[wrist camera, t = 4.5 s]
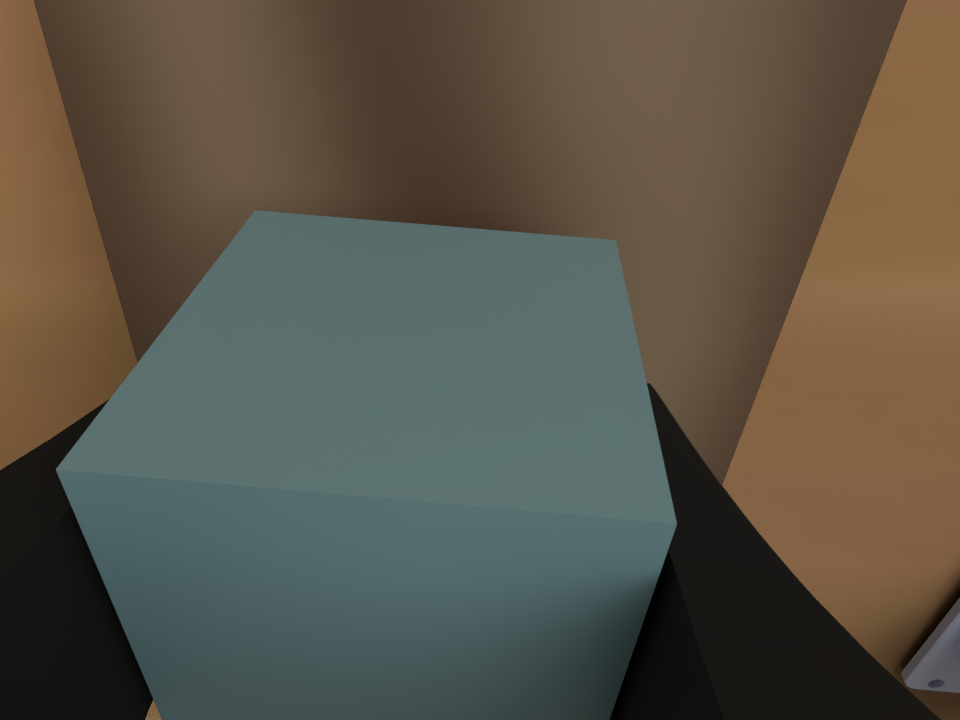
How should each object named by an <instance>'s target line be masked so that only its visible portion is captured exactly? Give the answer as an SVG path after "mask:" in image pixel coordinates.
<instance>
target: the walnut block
mask: <svg viewBox="0 0 960 720" xmlns="http://www.w3.org/2000/svg"><path fill="white" fill-rule="evenodd" d="M906 1H907V0H34V3H35V7H36V10H37V14H38V17H39V20H40V24H41V27H42V31H43V34H44V38H45V41H46V45H47V48H48V52H49V55H50V59H51V62H52V66H53V69H54V73H55V76H56V80H57V83H58V87H59V90H60V94H61V97H62V100H63V104H64V107H65V111H66V114H67V118H68V121H69V125H70V128H71V132H72V135H73V139H74V142H75V146H76V149H77V153H78V156H79V160H80V163H81V167H82V170H83V174H84V177H85V180H86V184H87V187H88V191H89V194H90V198H91V201H92V205H93V208H94V212H95V215H96V219H97V222H98V226H99V229H100V233H101V236H102V240H103V243H104V247H105V250H106V254H107V257H108V260H109V264H110V267H111V271H112V274H113V278H114V281H115V285H116V288H117V292H118V295H119V299H120V302H121V306H122V309H123V313H124V316H125V320H126V323H127V327H128V330H129V334H130V337H131V340H132V344H133V347H134V351H135V354H136V358H137V361H138V362H139V361H140V359H141V358H142V357H143V355H144V354H145V353H146V352H147V350H148V349H149V348H150V346H151V345H152V344H153V342H154V341H155V340H156V339H157V337H158V336H159V335H160V333H161V332H162V331H163V329H164V328H165V327H166V326H167V324H168V323H169V322H170V320H171V319H172V318H173V316H174V315H175V314H176V313H177V311H178V310H179V309H180V307H181V306H182V305H183V303H184V302H185V301H186V300H187V298H188V297H189V296H190V294H191V293H192V292H193V290H194V289H195V288H196V287H197V285H198V284H199V283H200V281H201V280H202V279H203V277H204V276H205V275H206V274H207V272H208V271H209V270H210V268H211V267H212V266H213V264H214V263H215V262H216V261H217V259H218V258H219V257H220V255H221V254H222V253H223V251H224V250H225V249H226V248H227V246H228V245H229V244H230V242H231V241H232V240H233V238H234V237H235V236H236V235H237V233H238V232H239V231H240V229H241V228H242V227H243V226H244V224H245V223H246V222H247V220H248V219H249V218H250V216H251V215H252V214H253V213H254V211H255V210H256V211H268V212H280V213H292V214H304V215H316V216H329V217H341V218H353V219H365V220H377V221H389V222H401V223H414V224H426V225H438V226H450V227H462V228H474V229H486V230H499V231H511V232H523V233H535V234H547V235H559V236H571V237H584V238H596V239H608V240H616V243H617V247H618V252H619V257H620V261H621V266H622V271H623V275H624V280H625V285H626V289H627V294H628V298H629V303H630V308H631V312H632V317H633V322H634V326H635V331H636V336H637V340H638V345H639V350H640V354H641V359H642V363H643V368H644V373H645V377H646V382H647V383H650V384H651V385H652V386H653V388H654V389H655V390H656V391H657V393H658V394H659V396H660V397H661V399H662V400H663V402H664V403H665V405H666V406H667V408H668V409H669V411H670V412H671V414H672V415H673V417H674V418H675V420H676V421H677V423H678V424H679V426H680V427H681V429H682V430H683V432H684V433H685V435H686V436H687V437H688V439H689V440H690V442H691V443H692V445H693V446H694V448H695V449H696V450H697V452H698V453H699V455H700V456H701V458H702V459H703V460H704V462H705V463H706V465H707V466H708V467H709V469H710V470H711V471H712V473H713V474H714V476H715V477H716V478H717V480H718V481H719V482H720V483H721V485H722V484H723V481H724V479H725V476H726V473H727V471H728V468H729V465H730V463H731V460H732V458H733V455H734V452H735V450H736V447H737V444H738V442H739V439H740V437H741V434H742V431H743V429H744V426H745V424H746V421H747V418H748V416H749V413H750V410H751V408H752V405H753V403H754V400H755V397H756V395H757V392H758V389H759V387H760V384H761V382H762V379H763V376H764V374H765V371H766V368H767V366H768V363H769V361H770V358H771V355H772V353H773V350H774V347H775V345H776V342H777V340H778V337H779V334H780V332H781V329H782V326H783V324H784V321H785V319H786V316H787V313H788V311H789V308H790V305H791V303H792V300H793V298H794V295H795V292H796V290H797V287H798V284H799V282H800V279H801V277H802V274H803V271H804V269H805V266H806V263H807V261H808V258H809V256H810V253H811V250H812V248H813V245H814V242H815V240H816V237H817V235H818V232H819V229H820V227H821V224H822V221H823V219H824V216H825V214H826V211H827V208H828V206H829V203H830V200H831V198H832V195H833V193H834V190H835V187H836V185H837V182H838V179H839V177H840V174H841V172H842V169H843V166H844V164H845V161H846V158H847V156H848V153H849V151H850V148H851V145H852V143H853V140H854V137H855V135H856V132H857V130H858V127H859V124H860V122H861V119H862V116H863V114H864V111H865V109H866V106H867V103H868V101H869V98H870V95H871V93H872V90H873V88H874V85H875V82H876V80H877V77H878V74H879V72H880V69H881V67H882V64H883V61H884V59H885V56H886V53H887V51H888V48H889V46H890V43H891V40H892V38H893V35H894V32H895V30H896V27H897V25H898V22H899V19H900V17H901V14H902V11H903V9H904V6H905V4H906Z"/></svg>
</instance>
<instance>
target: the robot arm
mask: <svg viewBox="0 0 960 720" xmlns="http://www.w3.org/2000/svg"><path fill="white" fill-rule="evenodd" d="M647 387H648V391H649V396H650V401H651V405H652V410H653V414H654V419H655V424H656V428H657V433H658V438H659V442H660V447H661V452H662V456H663V461H664V466H665V470H666V475H667V479H668V484H669V489H670V493H671V498H672V503H673V507H674V512H675V517H676V521H677V525H676V528H675V531H674V534H673V537H672V540H671V543H670V546H669V549H668V552H667V554H666V557H665V560H664V563H663V566H662V569H661V572H660V575H659V578H658V581H657V583H656V586H655V589H654V592H653V595H652V598H651V601H650V604H649V607H648V610H647V612H646V615H645V618H644V621H643V624H642V627H641V630H640V633H639V636H638V639H637V641H636V644H635V647H634V650H633V653H632V656H631V659H630V662H629V665H628V668H627V670H626V673H625V676H624V679H623V682H622V685H621V688H620V691H619V694H618V697H617V699H616V702H615V705H614V708H613V711H612V714H611V717H610V720H940V719H939V718H938V717H937V716H936V715H935V714H934V713H933V712H931V711H930V710H929V709H928V708H927V707H926V706H925V705H924V704H923V703H922V702H920V701H919V700H918V699H917V698H916V697H915V696H914V695H913V694H912V693H911V692H909V691H908V690H907V689H906V688H905V687H904V686H903V685H902V684H901V683H899V682H898V681H897V680H896V679H895V678H894V677H893V676H892V675H891V674H890V673H889V672H888V671H887V670H886V669H885V668H884V667H883V666H882V665H881V664H880V663H879V662H878V661H876V660H875V659H874V658H873V657H872V656H871V655H870V654H869V653H868V652H867V651H866V650H865V649H864V648H863V647H862V646H861V645H860V644H859V643H858V642H857V641H856V640H855V639H854V638H853V637H852V636H851V635H850V634H849V633H848V631H847V630H846V629H845V628H844V627H843V626H842V625H841V624H840V623H839V622H838V621H837V620H836V619H835V618H834V617H833V616H832V615H831V614H830V613H829V612H828V611H827V610H826V609H825V608H824V607H823V606H822V605H821V604H820V603H819V602H818V601H817V600H816V599H815V598H814V596H813V595H812V594H811V593H810V592H809V591H808V590H807V589H806V588H805V586H804V585H803V584H802V583H801V582H800V581H799V580H798V579H797V577H796V576H795V575H794V574H793V573H792V572H791V571H790V570H789V568H788V567H787V566H786V565H785V564H784V562H783V561H782V560H781V559H780V558H779V556H778V555H777V554H776V553H775V552H774V551H773V549H772V548H771V547H770V546H769V545H768V543H767V542H766V541H765V540H764V539H763V538H762V536H761V535H760V534H759V533H758V531H757V530H756V529H755V528H754V526H753V525H752V524H751V523H750V521H749V520H748V519H747V518H746V516H745V515H744V514H743V513H742V511H741V510H740V509H739V507H738V506H737V505H736V503H735V502H734V501H733V499H732V498H731V497H730V495H729V494H728V493H727V491H726V490H725V489H724V487H723V486H722V485H721V483H720V482H719V481H718V480H717V478H716V477H715V476H714V474H713V473H712V471H711V470H710V469H709V467H708V466H707V465H706V463H705V462H704V460H703V459H702V458H701V456H700V455H699V453H698V452H697V450H696V449H695V448H694V446H693V445H692V443H691V442H690V440H689V439H688V437H687V436H686V435H685V433H684V432H683V430H682V429H681V427H680V426H679V424H678V423H677V421H676V420H675V418H674V417H673V415H672V414H671V412H670V411H669V409H668V408H667V406H666V405H665V403H664V402H663V400H662V399H661V397H660V396H659V394H658V393H657V391H656V390H655V389H654V388H653V386H652V385H651V384H650V383H647ZM109 400H110V399H109ZM109 400H108V401H109ZM108 401H106V402H105V403H103V404H102V405H100V406H99V407H97V408H96V409H94V410H93V411H91V412H90V413H88V414H87V415H85V416H84V417H83V418H81V419H80V420H78V421H77V422H75V423H74V424H72V425H71V426H69V427H68V428H66V429H65V430H63V431H62V432H60V433H59V434H57V435H56V436H54V437H53V438H51V439H50V440H48V441H47V442H45V443H43V444H42V445H40V446H38V447H37V448H35V449H34V450H32V451H30V452H29V453H27V454H26V455H24V456H22V457H21V458H19V459H18V460H16V461H14V462H13V463H11V464H10V465H8V466H6V467H5V468H3V469H2V470H0V720H145V718H146V716H147V713H148V710H149V708H150V705H151V703H152V701H153V697H152V695H151V692H150V690H149V688H148V685H147V683H146V681H145V678H144V676H143V674H142V671H141V669H140V667H139V664H138V662H137V659H136V657H135V655H134V652H133V650H132V648H131V645H130V643H129V641H128V638H127V636H126V634H125V631H124V629H123V627H122V624H121V622H120V620H119V617H118V615H117V612H116V610H115V608H114V605H113V603H112V601H111V598H110V596H109V594H108V591H107V589H106V587H105V584H104V582H103V580H102V577H101V575H100V573H99V570H98V568H97V565H96V563H95V561H94V558H93V556H92V554H91V551H90V549H89V547H88V544H87V542H86V540H85V537H84V535H83V533H82V530H81V528H80V526H79V523H78V521H77V518H76V516H75V514H74V511H73V509H72V507H71V504H70V502H69V500H68V497H67V495H66V493H65V490H64V488H63V486H62V483H61V481H60V478H59V476H58V474H57V471H56V468H57V467H58V466H59V465H60V463H61V462H62V461H63V459H64V458H65V457H66V455H67V454H68V453H69V452H70V450H71V449H72V448H73V446H74V445H75V444H76V442H77V441H78V440H79V439H80V437H81V436H82V435H83V433H84V432H85V431H86V429H87V428H88V427H89V426H90V424H91V423H92V422H93V420H94V419H95V418H96V416H97V415H98V414H99V413H100V411H101V410H102V409H103V407H104V406H105V405H106V403H107V402H108ZM901 675H902V677H903V680H904V682H905V684H906V686H908V687H910V688H913V689H919V690H930V691H942V692H953V693H960V598H959V599H958V600H957V602H956V603H955V604H954V605H953V607H952V608H951V609H950V611H949V612H948V613H947V614H946V616H945V617H944V618H943V620H942V621H941V622H940V623H939V625H938V626H937V627H936V629H935V630H934V631H933V632H932V634H931V635H930V636H929V638H928V639H927V640H926V641H925V643H924V644H923V645H922V647H921V648H920V649H919V650H918V652H917V653H916V654H915V656H914V657H913V658H912V659H911V661H910V662H909V663H908V664H907V666H906V667H905V668H904V670H903V671H902V673H901Z"/></svg>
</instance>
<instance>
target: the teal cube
mask: <svg viewBox="0 0 960 720" xmlns="http://www.w3.org/2000/svg"><path fill="white" fill-rule="evenodd" d="M56 471H57V474H58V476H59V478H60V481H61V483H62V486H63V488H64V490H65V493H66V495H67V497H68V500H69V502H70V504H71V507H72V509H73V511H74V514H75V516H76V518H77V521H78V523H79V526H80V528H81V530H82V533H83V535H84V537H85V540H86V542H87V544H88V547H89V549H90V551H91V554H92V556H93V558H94V561H95V563H96V565H97V568H98V570H99V573H100V575H101V577H102V580H103V582H104V584H105V587H106V589H107V591H108V594H109V596H110V598H111V601H112V603H113V605H114V608H115V610H116V612H117V615H118V617H119V620H120V622H121V624H122V627H123V629H124V631H125V634H126V636H127V638H128V641H129V643H130V645H131V648H132V650H133V652H134V655H135V657H136V659H137V662H138V664H139V667H140V669H141V671H142V674H143V676H144V678H145V681H146V683H147V685H148V688H149V690H150V692H151V695H152V697H153V699H154V702H155V704H156V706H157V709H158V711H159V714H160V716H161V718H162V720H610V717H611V714H612V711H613V708H614V705H615V702H616V699H617V697H618V694H619V691H620V688H621V685H622V682H623V679H624V676H625V673H626V670H627V668H628V665H629V662H630V659H631V656H632V653H633V650H634V647H635V644H636V641H637V639H638V636H639V633H640V630H641V627H642V624H643V621H644V618H645V615H646V612H647V610H648V607H649V604H650V601H651V598H652V595H653V592H654V589H655V586H656V583H657V581H658V578H659V575H660V572H661V569H662V566H663V563H664V560H665V557H666V554H667V552H668V549H669V546H670V543H671V540H672V537H673V534H674V531H675V528H676V525H677V521H676V517H675V512H674V507H673V503H672V498H671V493H670V489H669V484H668V479H667V475H666V470H665V466H664V461H663V456H662V452H661V447H660V442H659V438H658V433H657V428H656V424H655V419H654V414H653V410H652V405H651V401H650V396H649V391H648V387H647V382H646V377H645V373H644V368H643V363H642V359H641V354H640V350H639V345H638V340H637V336H636V331H635V326H634V322H633V317H632V312H631V308H630V303H629V298H628V294H627V289H626V285H625V280H624V275H623V271H622V266H621V261H620V257H619V252H618V247H617V243H616V240H608V239H596V238H584V237H571V236H559V235H547V234H535V233H523V232H511V231H499V230H486V229H474V228H462V227H450V226H438V225H426V224H414V223H401V222H389V221H377V220H365V219H353V218H341V217H329V216H316V215H304V214H292V213H280V212H268V211H256V210H255V211H254V213H253V214H252V215H251V216H250V218H249V219H248V220H247V222H246V223H245V224H244V226H243V227H242V228H241V229H240V231H239V232H238V233H237V235H236V236H235V237H234V238H233V240H232V241H231V242H230V244H229V245H228V246H227V248H226V249H225V250H224V251H223V253H222V254H221V255H220V257H219V258H218V259H217V261H216V262H215V263H214V264H213V266H212V267H211V268H210V270H209V271H208V272H207V274H206V275H205V276H204V277H203V279H202V280H201V281H200V283H199V284H198V285H197V287H196V288H195V289H194V290H193V292H192V293H191V294H190V296H189V297H188V298H187V300H186V301H185V302H184V303H183V305H182V306H181V307H180V309H179V310H178V311H177V313H176V314H175V315H174V316H173V318H172V319H171V320H170V322H169V323H168V324H167V326H166V327H165V328H164V329H163V331H162V332H161V333H160V335H159V336H158V337H157V339H156V340H155V341H154V342H153V344H152V345H151V346H150V348H149V349H148V350H147V352H146V353H145V354H144V355H143V357H142V358H141V359H140V361H139V362H138V363H137V365H136V366H135V367H134V368H133V370H132V371H131V372H130V374H129V375H128V376H127V378H126V379H125V380H124V381H123V383H122V384H121V385H120V387H119V388H118V389H117V391H116V392H115V393H114V394H113V396H112V397H111V398H110V400H109V401H108V402H107V403H106V405H105V406H104V407H103V409H102V410H101V411H100V413H99V414H98V415H97V416H96V418H95V419H94V420H93V422H92V423H91V424H90V426H89V427H88V428H87V429H86V431H85V432H84V433H83V435H82V436H81V437H80V439H79V440H78V441H77V442H76V444H75V445H74V446H73V448H72V449H71V450H70V452H69V453H68V454H67V455H66V457H65V458H64V459H63V461H62V462H61V463H60V465H59V466H58V467H57V468H56Z"/></svg>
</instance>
